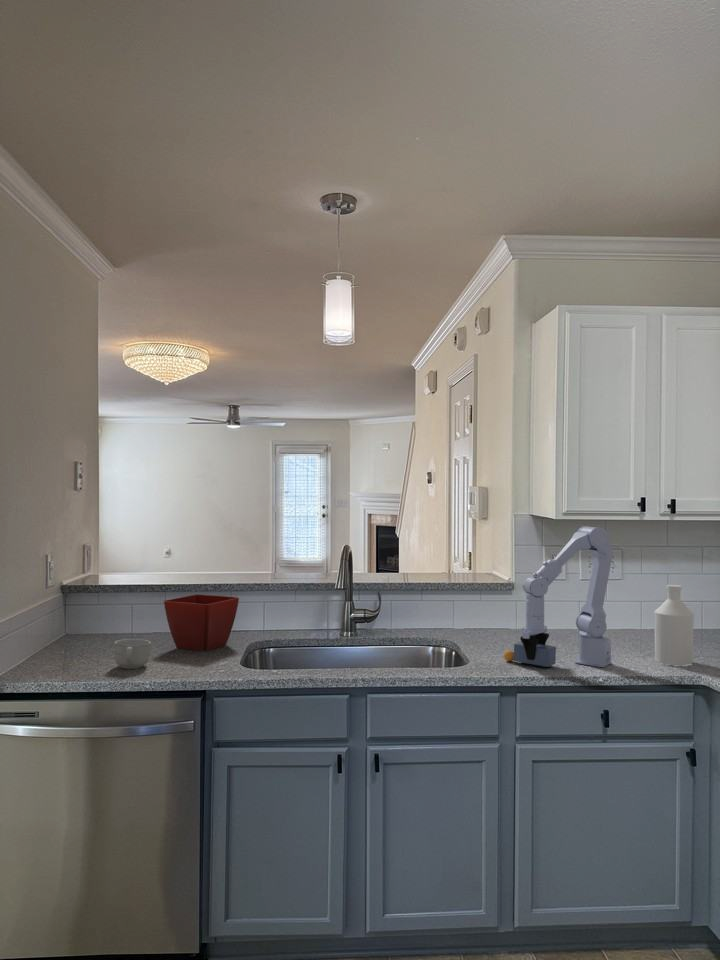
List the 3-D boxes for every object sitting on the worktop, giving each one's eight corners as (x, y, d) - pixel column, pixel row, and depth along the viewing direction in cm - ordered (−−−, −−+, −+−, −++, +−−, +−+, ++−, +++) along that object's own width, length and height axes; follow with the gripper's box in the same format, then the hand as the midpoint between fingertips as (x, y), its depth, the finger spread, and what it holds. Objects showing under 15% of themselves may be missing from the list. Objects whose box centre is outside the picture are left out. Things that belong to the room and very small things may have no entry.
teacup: (121, 662, 239) (121, 637, 239) (155, 663, 239) (155, 637, 239) (105, 673, 225) (105, 646, 225) (140, 674, 225) (141, 647, 225)
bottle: (694, 668, 237) (695, 588, 237) (654, 664, 241) (654, 586, 241) (692, 659, 248) (692, 584, 248) (653, 656, 252) (654, 582, 252)
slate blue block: (555, 663, 238) (555, 646, 238) (548, 667, 233) (548, 649, 233) (521, 657, 245) (521, 641, 245) (513, 660, 240) (514, 644, 240)
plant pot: (196, 639, 276) (196, 593, 276) (239, 644, 268) (240, 597, 268) (162, 649, 258) (162, 600, 258) (207, 655, 250) (207, 604, 250)
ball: (506, 649, 246) (506, 660, 246) (501, 650, 243) (502, 662, 243) (516, 649, 245) (517, 660, 244) (512, 651, 242) (513, 662, 241)
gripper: (532, 610, 247) (532, 651, 247) (513, 616, 236) (513, 660, 235) (553, 613, 243) (552, 654, 243) (534, 619, 231) (534, 663, 231)
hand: (534, 657), depth 239 cm, fingers closed on slate blue block, 6 cm apart
